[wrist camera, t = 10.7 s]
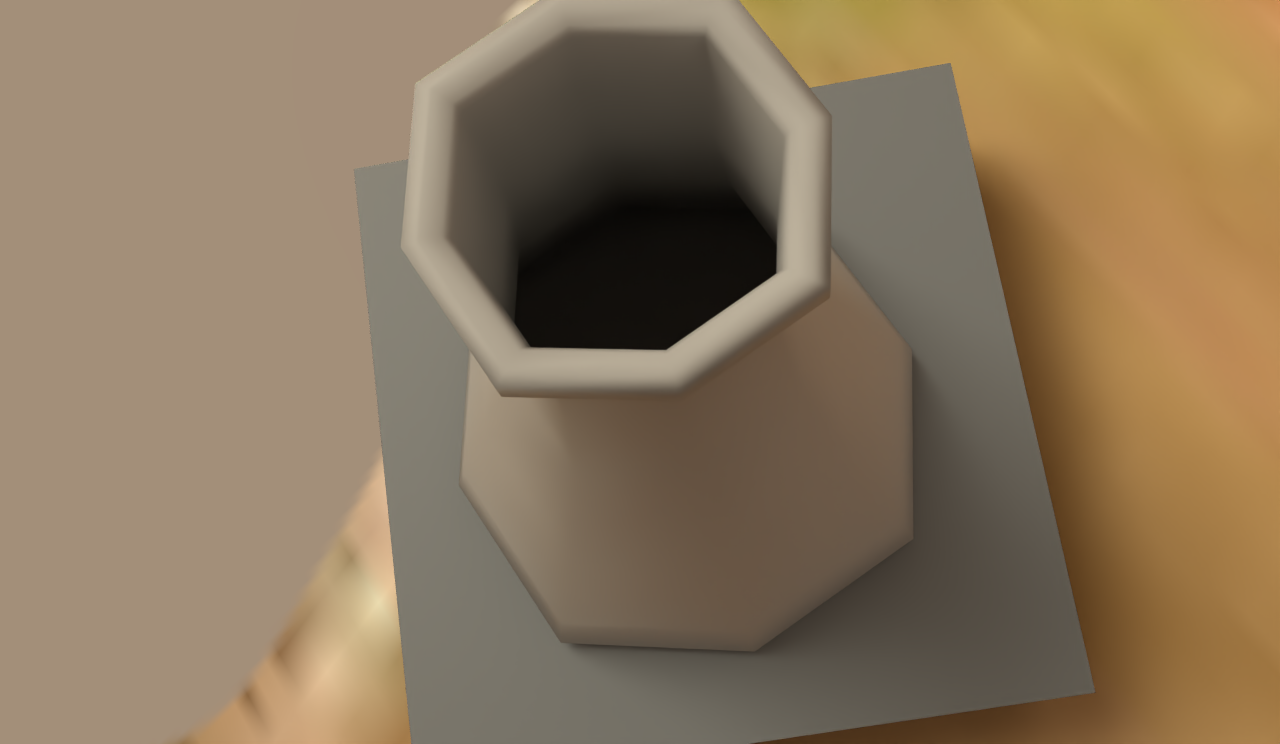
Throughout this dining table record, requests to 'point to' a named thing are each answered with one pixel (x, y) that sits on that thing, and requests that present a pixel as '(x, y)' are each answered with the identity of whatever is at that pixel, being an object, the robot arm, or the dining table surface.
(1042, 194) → the dining table surface
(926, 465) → the dock
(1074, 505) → the dining table surface
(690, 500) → the flask
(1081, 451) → the dining table surface
